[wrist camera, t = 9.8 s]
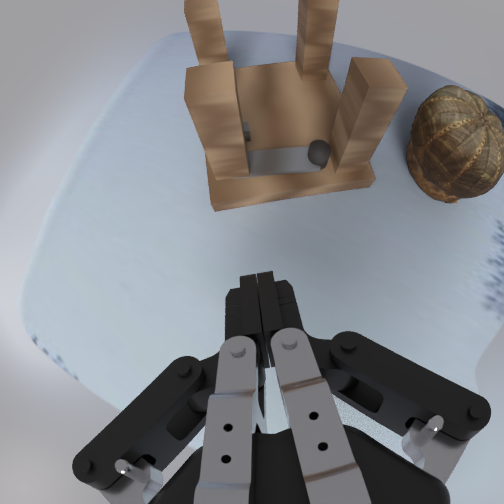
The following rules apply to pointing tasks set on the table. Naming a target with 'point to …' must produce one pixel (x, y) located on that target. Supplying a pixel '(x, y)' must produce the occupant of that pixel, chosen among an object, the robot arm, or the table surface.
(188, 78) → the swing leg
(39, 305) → the table surface
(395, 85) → the wooden peg stand
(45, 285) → the table surface
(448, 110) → the shell
